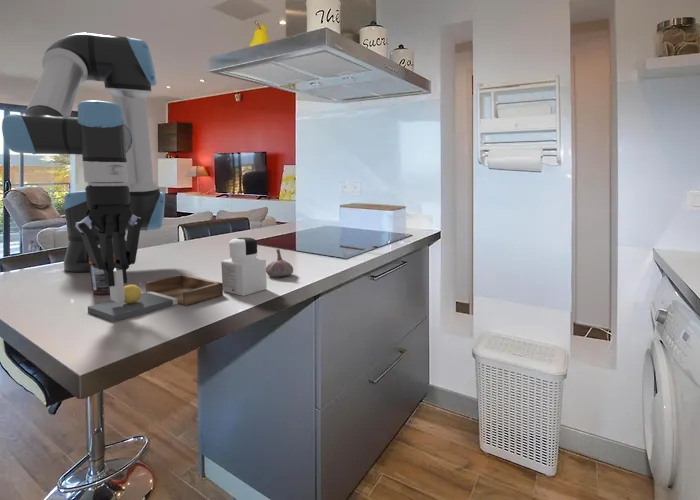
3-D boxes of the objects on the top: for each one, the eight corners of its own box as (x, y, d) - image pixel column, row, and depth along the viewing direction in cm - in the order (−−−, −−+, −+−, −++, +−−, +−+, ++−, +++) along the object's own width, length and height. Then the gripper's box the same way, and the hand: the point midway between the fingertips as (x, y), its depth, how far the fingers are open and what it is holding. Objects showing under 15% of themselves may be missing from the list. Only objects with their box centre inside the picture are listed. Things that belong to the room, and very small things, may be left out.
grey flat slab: (88, 312, 87) (87, 306, 87) (151, 296, 99) (150, 291, 98) (114, 321, 82) (113, 315, 82) (177, 303, 93) (177, 298, 93)
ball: (112, 296, 88) (123, 279, 89) (127, 304, 91) (138, 288, 92) (122, 300, 86) (133, 283, 87) (138, 308, 89) (148, 291, 90)
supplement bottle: (99, 288, 104) (95, 243, 102) (124, 288, 105) (121, 243, 103) (87, 295, 99) (82, 247, 97) (113, 295, 99) (109, 247, 97)
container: (246, 284, 110) (244, 235, 107) (267, 289, 105) (266, 238, 103) (221, 291, 103) (219, 238, 101) (243, 296, 99) (241, 242, 97)
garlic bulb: (264, 279, 115) (263, 250, 114) (267, 273, 123) (267, 246, 121) (292, 279, 116) (292, 250, 114) (294, 273, 123) (293, 246, 122)
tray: (146, 294, 100) (145, 282, 99) (183, 285, 108) (182, 274, 107) (186, 306, 92) (185, 292, 91) (222, 295, 100) (222, 283, 99)
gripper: (80, 185, 75) (94, 312, 80) (149, 184, 86) (157, 295, 90) (61, 184, 79) (74, 304, 84) (129, 183, 90) (138, 290, 94)
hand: (117, 300), depth 87 cm, fingers closed
